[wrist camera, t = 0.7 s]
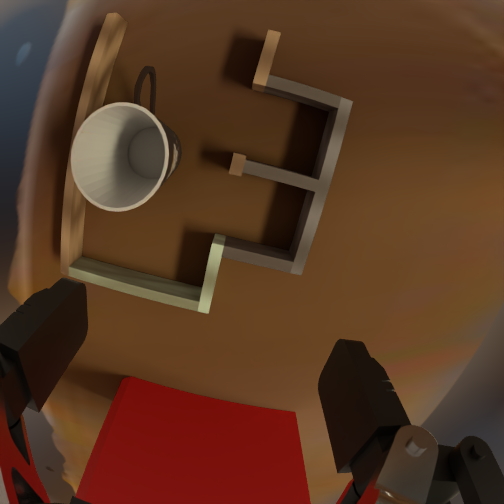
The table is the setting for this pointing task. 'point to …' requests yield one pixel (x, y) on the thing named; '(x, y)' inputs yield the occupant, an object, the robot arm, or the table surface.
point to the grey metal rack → (222, 244)
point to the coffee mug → (124, 152)
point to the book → (193, 451)
